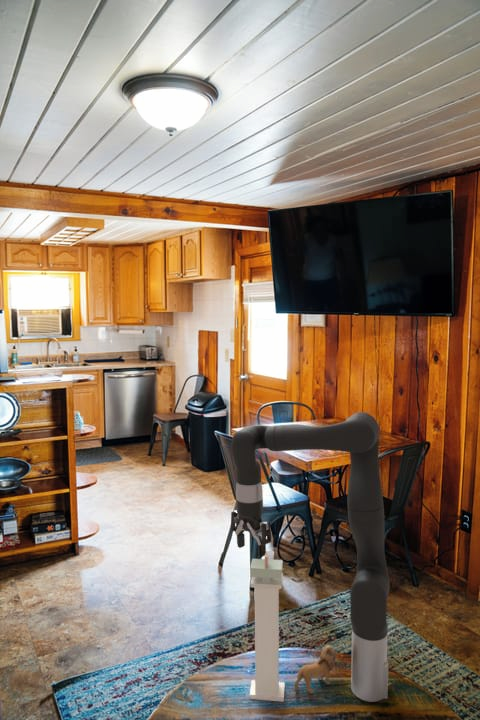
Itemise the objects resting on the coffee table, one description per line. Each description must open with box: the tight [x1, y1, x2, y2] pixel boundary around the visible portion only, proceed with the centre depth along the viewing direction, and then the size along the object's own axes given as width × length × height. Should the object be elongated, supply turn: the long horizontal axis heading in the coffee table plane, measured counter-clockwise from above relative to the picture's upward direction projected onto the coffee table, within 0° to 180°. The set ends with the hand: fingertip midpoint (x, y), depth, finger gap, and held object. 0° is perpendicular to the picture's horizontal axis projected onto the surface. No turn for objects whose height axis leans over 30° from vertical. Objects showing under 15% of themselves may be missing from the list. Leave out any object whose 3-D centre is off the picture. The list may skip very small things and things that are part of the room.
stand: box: [249, 572, 286, 703], centre depth 144 cm, size 9×6×32 cm, turn 83°
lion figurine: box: [294, 644, 336, 697], centre depth 148 cm, size 15×5×9 cm, turn 129°
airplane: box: [249, 550, 284, 584], centre depth 146 cm, size 8×14×7 cm, turn 173°
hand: (251, 551), depth 156 cm, fingers open, 8 cm apart
